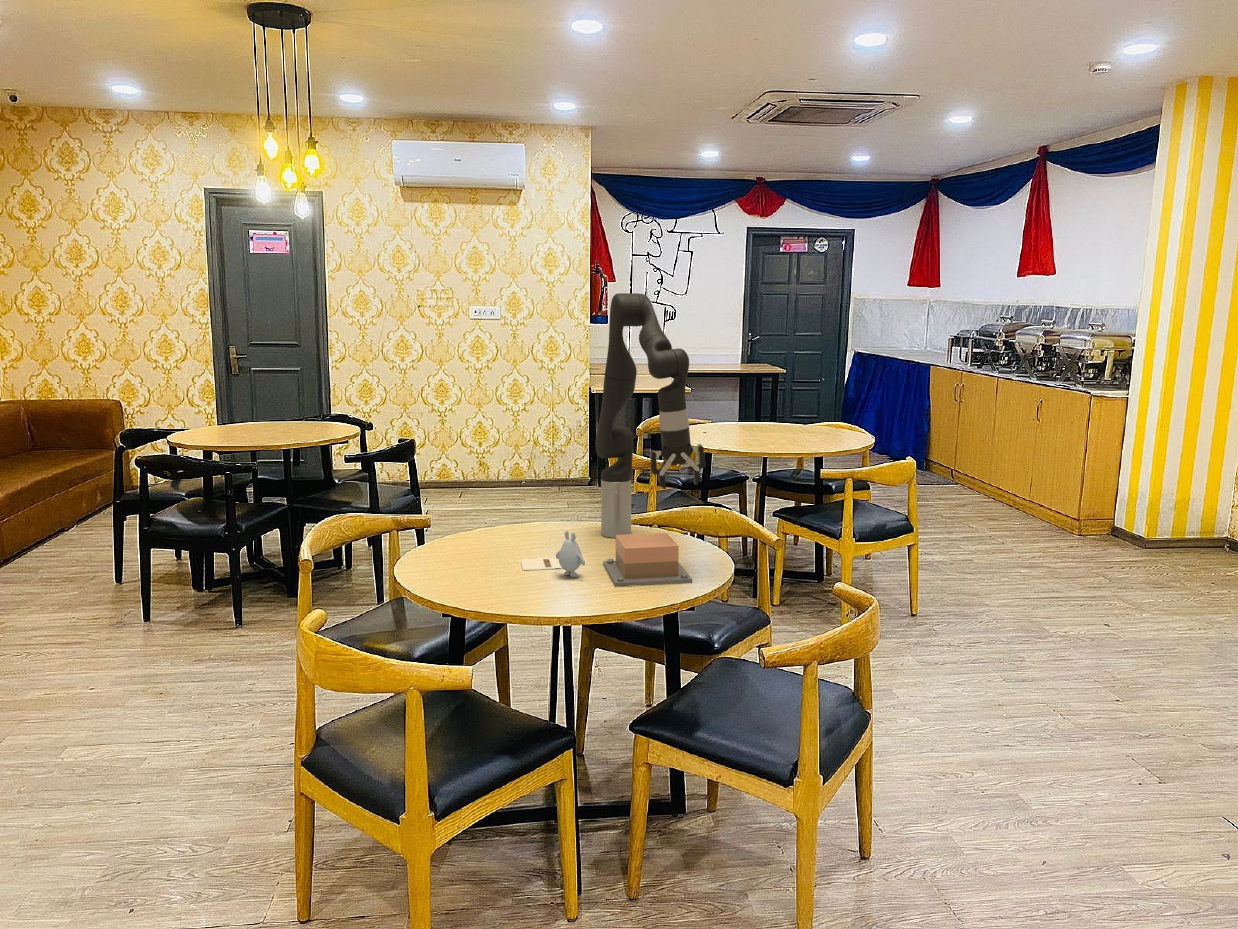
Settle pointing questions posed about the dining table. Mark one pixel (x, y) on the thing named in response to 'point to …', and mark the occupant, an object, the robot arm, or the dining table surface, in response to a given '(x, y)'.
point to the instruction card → (540, 564)
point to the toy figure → (570, 555)
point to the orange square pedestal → (646, 561)
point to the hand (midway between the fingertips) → (680, 486)
